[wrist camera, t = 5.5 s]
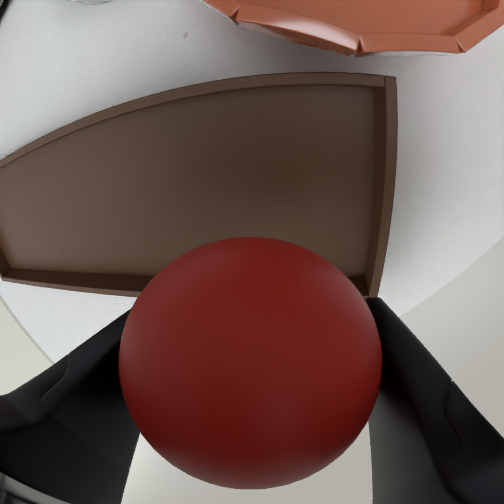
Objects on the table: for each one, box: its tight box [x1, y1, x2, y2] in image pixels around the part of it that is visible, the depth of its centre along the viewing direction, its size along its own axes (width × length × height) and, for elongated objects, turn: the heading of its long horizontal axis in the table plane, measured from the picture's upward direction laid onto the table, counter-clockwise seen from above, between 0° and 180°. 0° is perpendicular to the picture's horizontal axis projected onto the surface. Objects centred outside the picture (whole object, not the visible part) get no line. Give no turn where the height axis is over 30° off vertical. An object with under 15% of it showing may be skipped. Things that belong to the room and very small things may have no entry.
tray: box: [0, 72, 398, 300], centre depth 17 cm, size 40×13×3 cm, turn 96°
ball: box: [119, 237, 382, 489], centre depth 6 cm, size 6×6×6 cm
